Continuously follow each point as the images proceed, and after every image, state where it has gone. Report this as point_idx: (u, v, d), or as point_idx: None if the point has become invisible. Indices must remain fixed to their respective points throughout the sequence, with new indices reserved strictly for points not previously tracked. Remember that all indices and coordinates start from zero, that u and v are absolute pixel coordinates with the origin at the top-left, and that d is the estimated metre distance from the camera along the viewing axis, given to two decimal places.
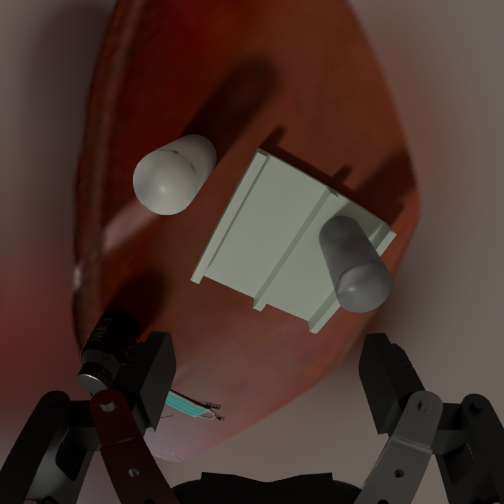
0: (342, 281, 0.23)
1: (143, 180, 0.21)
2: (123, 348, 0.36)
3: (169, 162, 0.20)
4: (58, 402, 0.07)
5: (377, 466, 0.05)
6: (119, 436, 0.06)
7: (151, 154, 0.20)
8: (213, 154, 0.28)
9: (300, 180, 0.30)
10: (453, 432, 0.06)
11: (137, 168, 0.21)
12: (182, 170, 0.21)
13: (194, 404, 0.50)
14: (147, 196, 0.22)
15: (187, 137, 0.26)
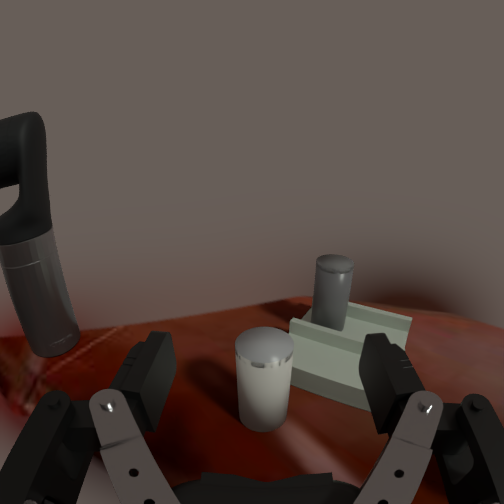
0: (331, 268, 0.37)
1: (259, 355, 0.23)
2: None
3: (246, 338, 0.26)
4: (58, 402, 0.07)
5: (377, 466, 0.05)
6: (119, 436, 0.06)
7: (236, 347, 0.24)
8: None
9: None
10: (453, 432, 0.06)
11: (247, 357, 0.23)
12: (255, 332, 0.26)
13: None
14: (275, 354, 0.23)
15: None
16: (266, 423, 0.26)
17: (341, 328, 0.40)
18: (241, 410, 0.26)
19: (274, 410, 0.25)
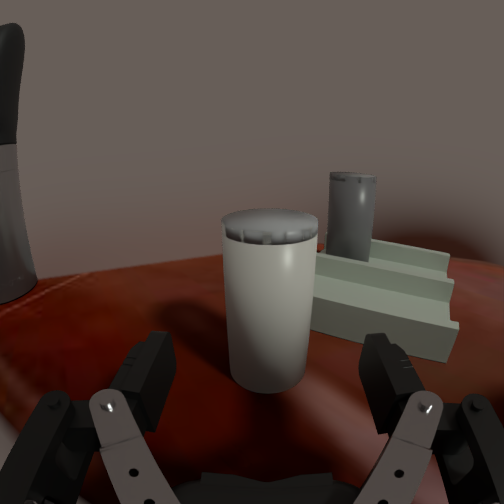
0: (350, 176, 0.27)
1: (262, 226, 0.14)
2: None
3: (240, 215, 0.16)
4: (58, 402, 0.07)
5: (377, 466, 0.05)
6: (119, 436, 0.06)
7: (224, 221, 0.15)
8: None
9: None
10: (453, 432, 0.06)
11: (240, 228, 0.14)
12: (254, 211, 0.17)
13: None
14: (289, 226, 0.14)
15: None
16: (274, 375, 0.16)
17: None
18: (233, 355, 0.17)
19: (288, 347, 0.16)
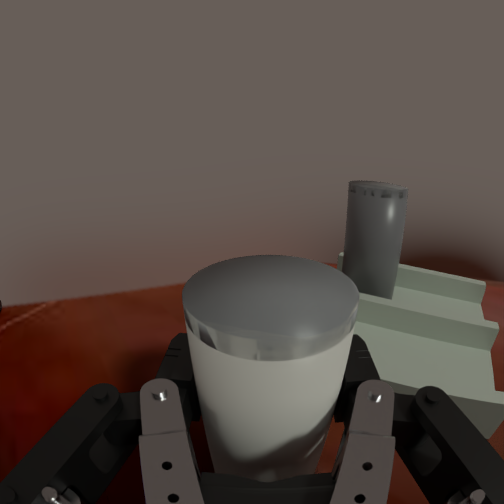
0: (377, 188, 0.20)
1: (257, 316, 0.07)
2: None
3: (220, 276, 0.09)
4: (106, 395, 0.07)
5: (342, 463, 0.05)
6: (163, 427, 0.07)
7: (186, 296, 0.08)
8: None
9: None
10: (406, 423, 0.07)
11: (212, 323, 0.07)
12: (244, 264, 0.10)
13: None
14: (309, 314, 0.07)
15: None
16: None
17: (390, 299, 0.24)
18: (215, 464, 0.10)
19: (295, 469, 0.09)
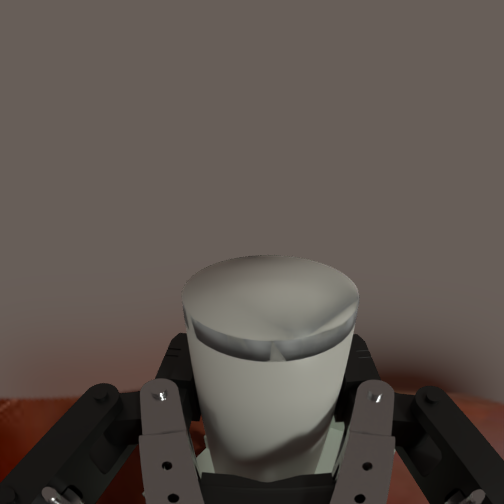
0: None
1: (256, 317, 0.07)
2: None
3: (219, 276, 0.09)
4: (106, 395, 0.07)
5: (342, 463, 0.05)
6: (163, 427, 0.07)
7: (185, 296, 0.08)
8: None
9: None
10: (406, 423, 0.07)
11: (212, 323, 0.07)
12: (243, 265, 0.10)
13: None
14: (309, 314, 0.07)
15: None
16: None
17: None
18: (215, 464, 0.10)
19: (295, 470, 0.09)
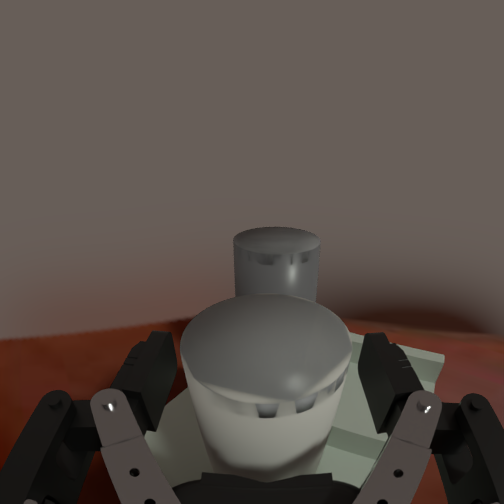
0: (260, 252, 0.15)
1: (251, 375, 0.07)
2: None
3: (216, 323, 0.09)
4: (59, 402, 0.07)
5: (376, 466, 0.05)
6: (120, 436, 0.06)
7: (184, 349, 0.08)
8: None
9: (173, 411, 0.17)
10: (452, 432, 0.06)
11: (209, 383, 0.07)
12: (240, 307, 0.10)
13: None
14: (302, 372, 0.07)
15: None
16: None
17: None
18: None
19: None
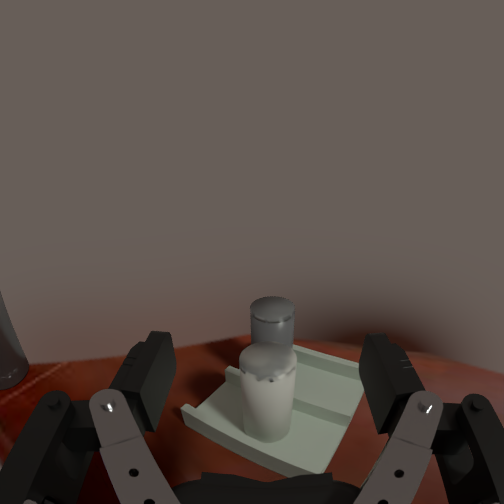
0: (264, 317, 0.31)
1: (263, 369, 0.24)
2: None
3: (250, 353, 0.26)
4: (58, 402, 0.07)
5: (377, 466, 0.05)
6: (119, 436, 0.06)
7: (241, 362, 0.24)
8: None
9: (217, 396, 0.33)
10: (453, 432, 0.06)
11: (251, 372, 0.23)
12: (258, 347, 0.27)
13: None
14: (279, 368, 0.24)
15: None
16: (270, 434, 0.25)
17: None
18: (246, 423, 0.26)
19: (278, 422, 0.25)
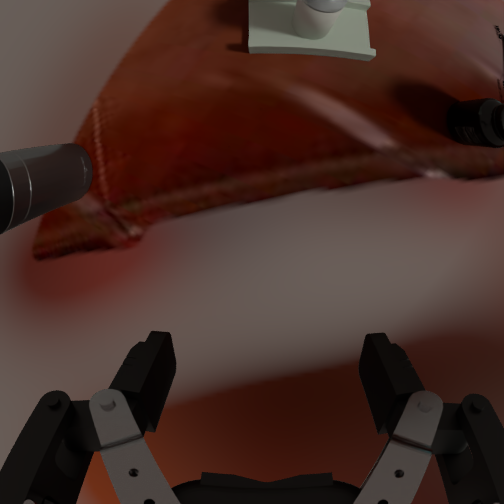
0: None
1: (330, 3, 0.21)
2: (471, 104, 0.27)
3: None
4: (58, 402, 0.07)
5: (377, 466, 0.05)
6: (119, 436, 0.06)
7: (309, 3, 0.21)
8: None
9: (255, 17, 0.30)
10: (453, 432, 0.06)
11: (324, 9, 0.21)
12: None
13: None
14: None
15: (295, 22, 0.28)
16: (325, 33, 0.29)
17: None
18: (305, 32, 0.29)
19: (332, 25, 0.27)
